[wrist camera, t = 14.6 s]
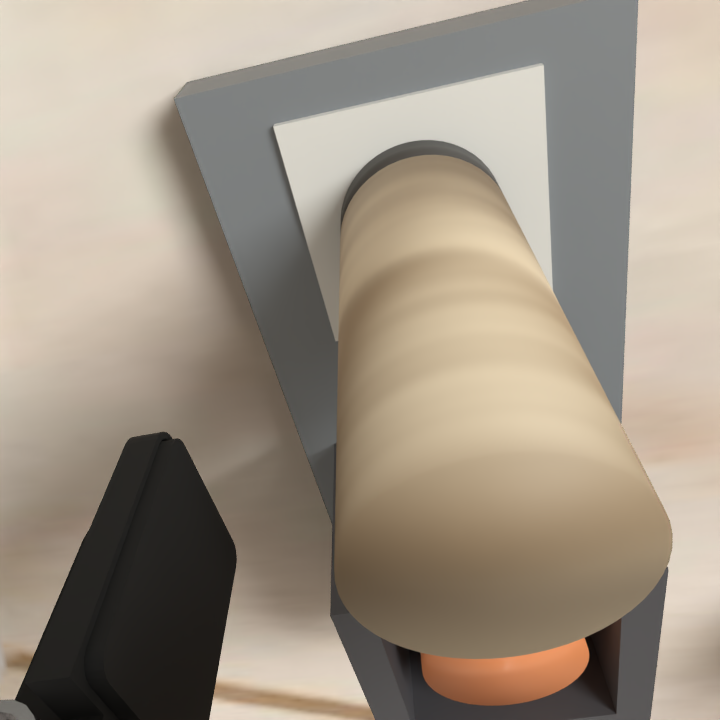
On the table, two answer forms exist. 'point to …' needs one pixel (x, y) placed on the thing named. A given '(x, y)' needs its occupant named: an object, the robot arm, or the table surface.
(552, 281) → the board
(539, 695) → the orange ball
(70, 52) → the table surface
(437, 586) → the beige wooden cylinder
